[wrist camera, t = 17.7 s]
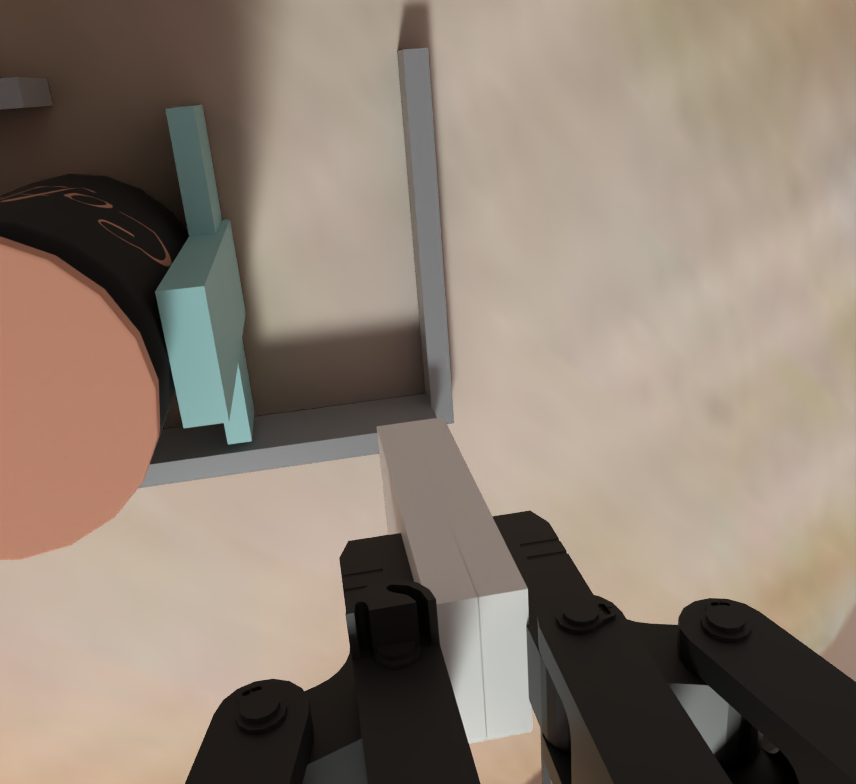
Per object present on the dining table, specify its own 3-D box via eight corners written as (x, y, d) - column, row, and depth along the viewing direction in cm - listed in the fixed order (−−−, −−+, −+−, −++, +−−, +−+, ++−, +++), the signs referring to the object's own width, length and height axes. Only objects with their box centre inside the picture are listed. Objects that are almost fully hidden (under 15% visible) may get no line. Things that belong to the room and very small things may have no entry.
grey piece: (-127, 91, 36) (-180, 91, 32) (421, 49, 39) (437, 44, 35) (-8, 472, 43) (-39, 513, 39) (447, 409, 46) (463, 441, 42)
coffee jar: (223, 198, 40) (182, 275, 24) (192, 392, 43) (138, 580, 27) (-7, 147, 38) (-234, 194, 21) (-21, 358, 41) (-227, 543, 24)
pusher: (176, 106, 38) (118, 117, 24) (211, 103, 38) (172, 112, 25) (232, 413, 44) (210, 559, 30) (261, 409, 44) (252, 552, 30)
